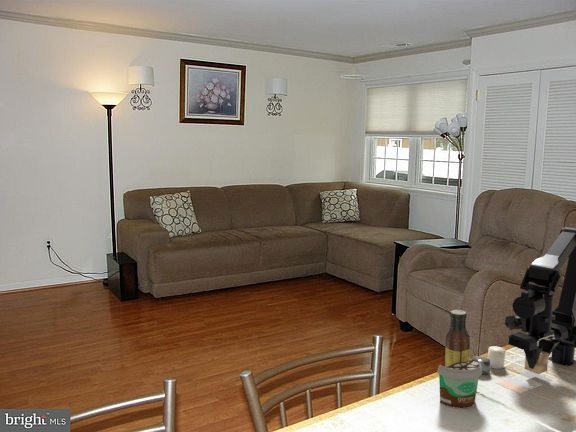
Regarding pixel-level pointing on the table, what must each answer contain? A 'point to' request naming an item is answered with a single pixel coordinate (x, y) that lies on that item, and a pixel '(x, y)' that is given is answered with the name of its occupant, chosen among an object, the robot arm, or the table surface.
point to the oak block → (539, 363)
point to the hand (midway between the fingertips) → (536, 366)
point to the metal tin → (484, 364)
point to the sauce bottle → (457, 339)
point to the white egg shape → (496, 357)
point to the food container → (459, 383)
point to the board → (524, 382)
